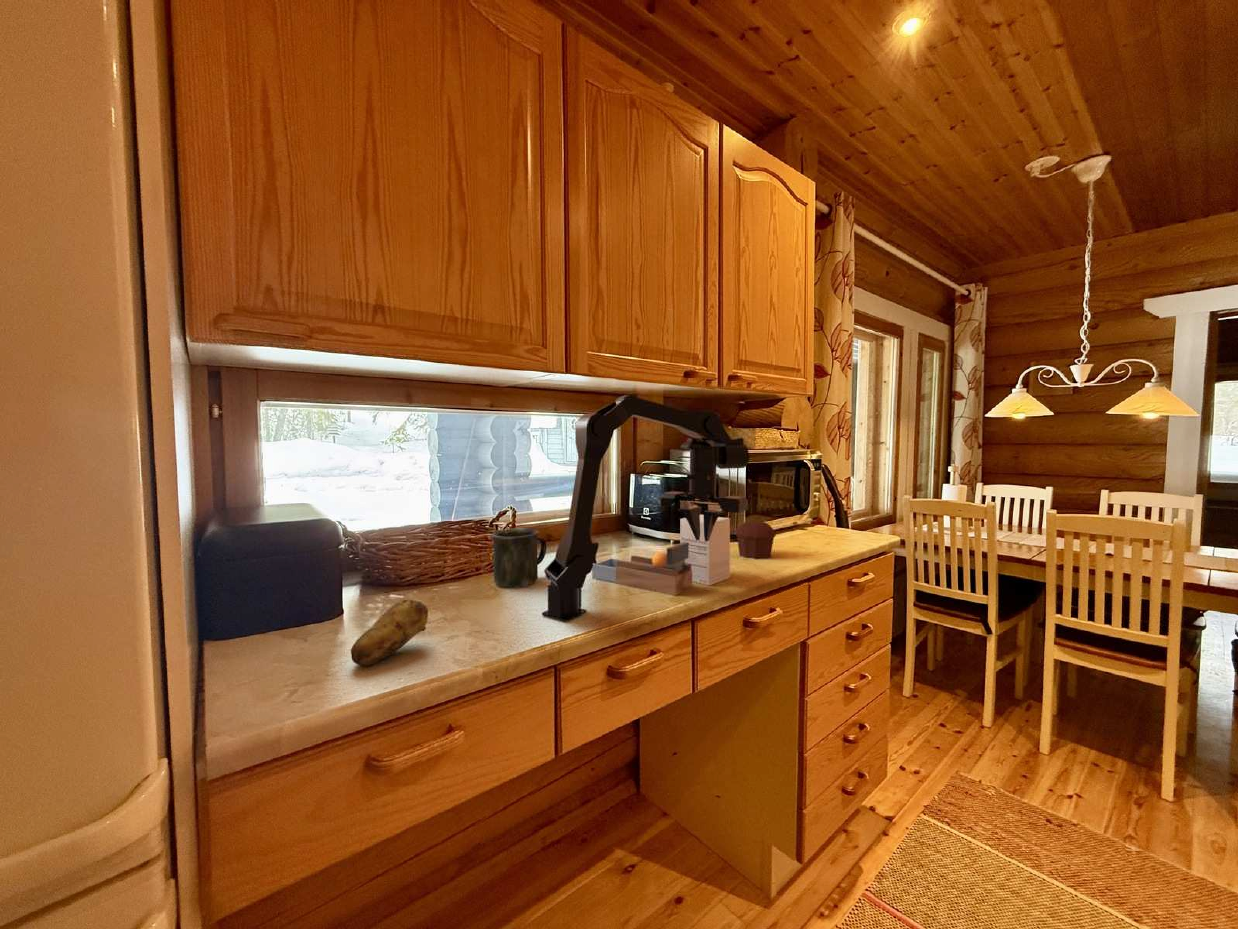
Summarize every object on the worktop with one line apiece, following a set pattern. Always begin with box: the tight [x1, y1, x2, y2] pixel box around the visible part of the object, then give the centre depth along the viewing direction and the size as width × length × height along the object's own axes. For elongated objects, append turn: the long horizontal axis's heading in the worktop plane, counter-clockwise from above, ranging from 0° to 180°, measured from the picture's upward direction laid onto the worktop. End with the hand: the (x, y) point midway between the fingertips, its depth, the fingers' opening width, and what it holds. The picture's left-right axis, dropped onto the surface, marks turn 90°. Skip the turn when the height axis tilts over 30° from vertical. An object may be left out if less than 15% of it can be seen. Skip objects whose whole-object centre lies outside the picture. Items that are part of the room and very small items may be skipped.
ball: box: [652, 551, 667, 568], centre depth 121 cm, size 4×4×4 cm
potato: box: [350, 599, 429, 667], centre depth 84 cm, size 8×13×8 cm, turn 135°
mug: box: [490, 527, 547, 588], centre depth 126 cm, size 11×15×12 cm
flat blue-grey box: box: [591, 557, 631, 584], centre depth 129 cm, size 8×8×4 cm
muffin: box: [734, 519, 777, 560], centre depth 152 cm, size 12×11×10 cm
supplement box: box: [679, 514, 731, 586], centre depth 128 cm, size 9×9×15 cm
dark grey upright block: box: [666, 542, 689, 573], centre depth 119 cm, size 8×2×6 cm, turn 145°
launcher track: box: [615, 555, 693, 596], centre depth 122 cm, size 8×16×5 cm, turn 55°
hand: (702, 540), depth 115 cm, fingers closed
